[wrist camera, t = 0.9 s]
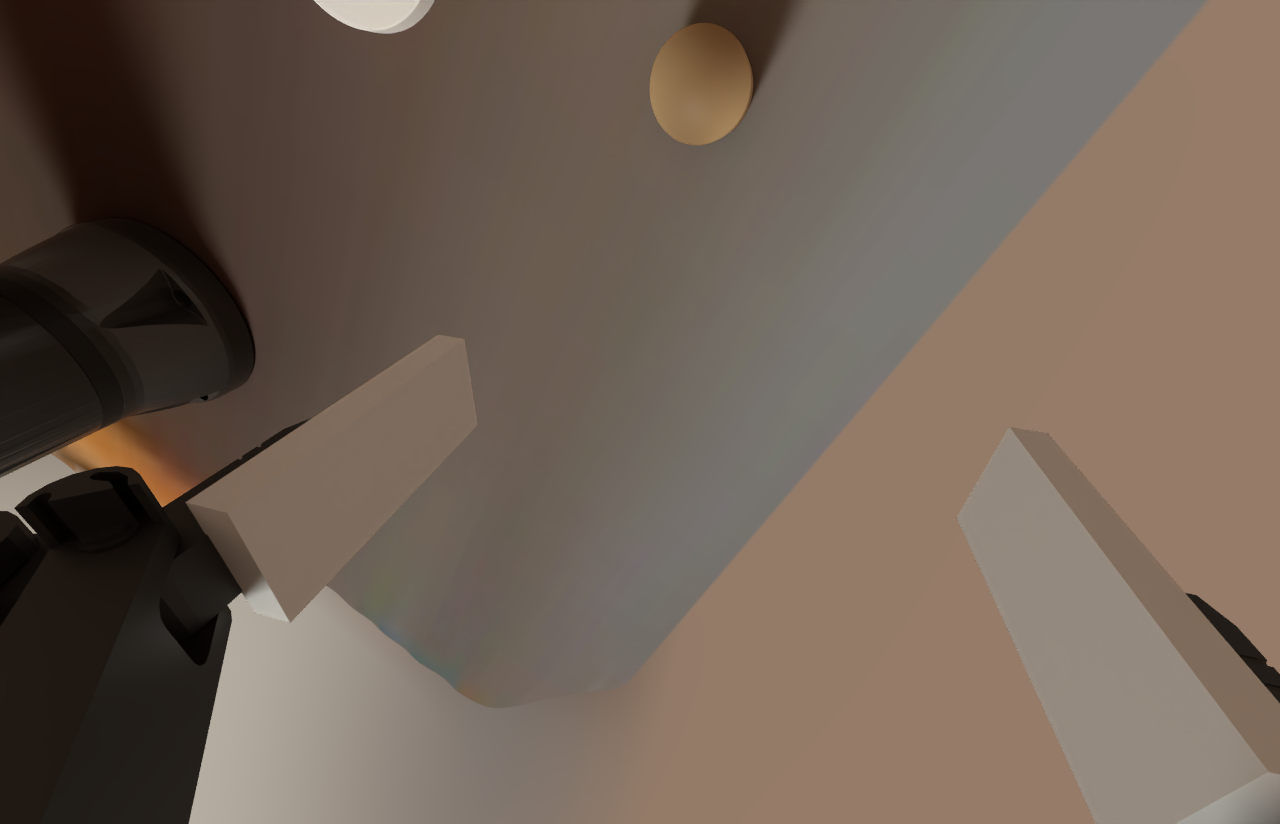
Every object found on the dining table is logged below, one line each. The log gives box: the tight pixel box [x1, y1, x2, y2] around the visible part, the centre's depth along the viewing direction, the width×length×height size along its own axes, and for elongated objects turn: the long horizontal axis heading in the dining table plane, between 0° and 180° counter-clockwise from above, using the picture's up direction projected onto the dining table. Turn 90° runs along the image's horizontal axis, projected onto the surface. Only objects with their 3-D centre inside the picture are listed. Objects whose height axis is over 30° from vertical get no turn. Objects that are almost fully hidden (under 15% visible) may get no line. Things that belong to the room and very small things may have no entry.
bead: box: [650, 23, 753, 145], centre depth 22 cm, size 4×4×4 cm
